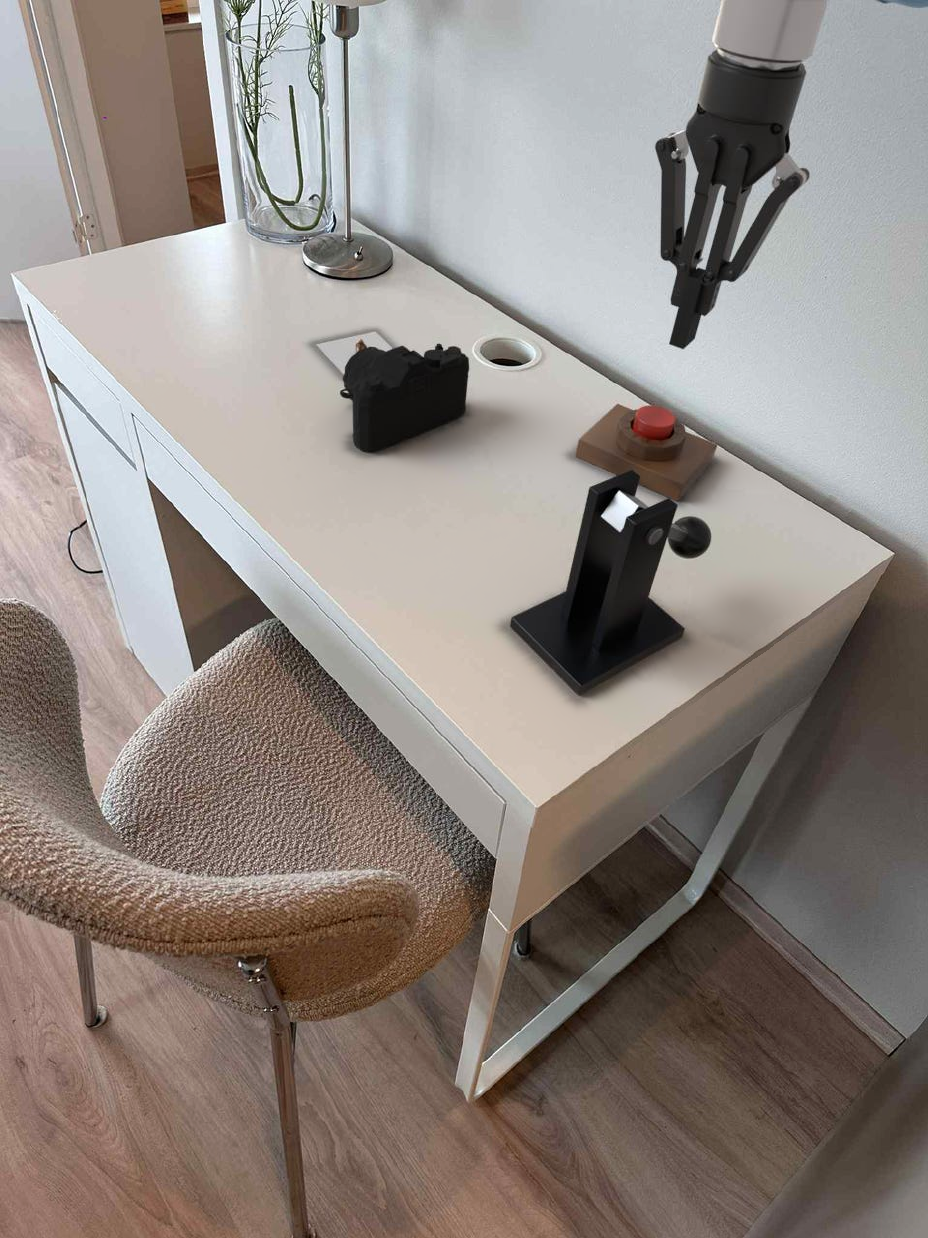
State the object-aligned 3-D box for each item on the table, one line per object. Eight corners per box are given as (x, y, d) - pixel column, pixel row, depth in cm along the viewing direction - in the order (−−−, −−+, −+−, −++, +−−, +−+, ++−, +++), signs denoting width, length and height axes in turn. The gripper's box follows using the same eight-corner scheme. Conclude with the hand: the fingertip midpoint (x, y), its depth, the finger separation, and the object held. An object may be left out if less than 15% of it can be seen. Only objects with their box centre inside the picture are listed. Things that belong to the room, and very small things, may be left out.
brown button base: (711, 461, 95) (722, 429, 92) (677, 501, 90) (688, 469, 87) (613, 420, 99) (620, 388, 97) (574, 456, 94) (581, 424, 91)
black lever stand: (611, 576, 81) (648, 441, 71) (682, 638, 76) (733, 503, 66) (509, 626, 76) (532, 488, 65) (578, 696, 71) (615, 559, 60)
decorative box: (375, 331, 109) (375, 317, 108) (407, 362, 105) (407, 347, 103) (315, 344, 106) (315, 329, 104) (345, 377, 101) (345, 362, 100)
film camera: (422, 376, 103) (426, 302, 96) (476, 416, 98) (483, 341, 91) (310, 416, 95) (306, 339, 89) (363, 461, 90) (362, 383, 84)
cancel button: (677, 429, 93) (681, 414, 91) (661, 446, 90) (665, 431, 89) (642, 414, 94) (646, 400, 93) (626, 431, 92) (629, 416, 90)
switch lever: (670, 545, 78) (695, 512, 77) (700, 569, 76) (726, 535, 75) (589, 517, 67) (617, 478, 66) (621, 544, 65) (650, 504, 64)
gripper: (857, 65, 68) (760, 349, 84) (699, 30, 72) (637, 306, 89) (827, 84, 63) (731, 380, 80) (661, 45, 68) (603, 333, 84)
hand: (681, 341), depth 84 cm, fingers closed
